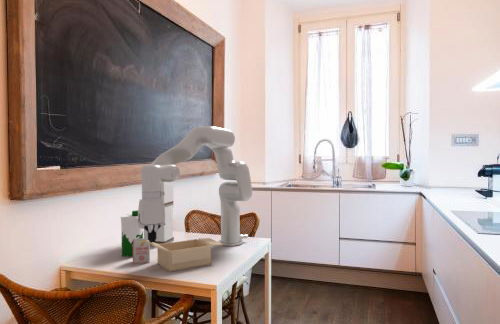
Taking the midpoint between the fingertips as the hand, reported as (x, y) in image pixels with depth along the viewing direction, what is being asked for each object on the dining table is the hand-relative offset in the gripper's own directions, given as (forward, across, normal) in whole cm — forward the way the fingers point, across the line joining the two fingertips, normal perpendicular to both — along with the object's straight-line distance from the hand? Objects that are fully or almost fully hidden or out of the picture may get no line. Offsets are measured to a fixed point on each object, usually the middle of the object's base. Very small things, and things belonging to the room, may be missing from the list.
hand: (152, 241), depth 153 cm
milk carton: (+11, 0, -27) cm, 29 cm away
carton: (+11, -14, 0) cm, 17 cm away
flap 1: (+3, -4, 0) cm, 5 cm away
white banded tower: (+11, -18, -43) cm, 48 cm away
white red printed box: (+11, 0, -13) cm, 17 cm away
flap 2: (+3, -22, 0) cm, 23 cm away
